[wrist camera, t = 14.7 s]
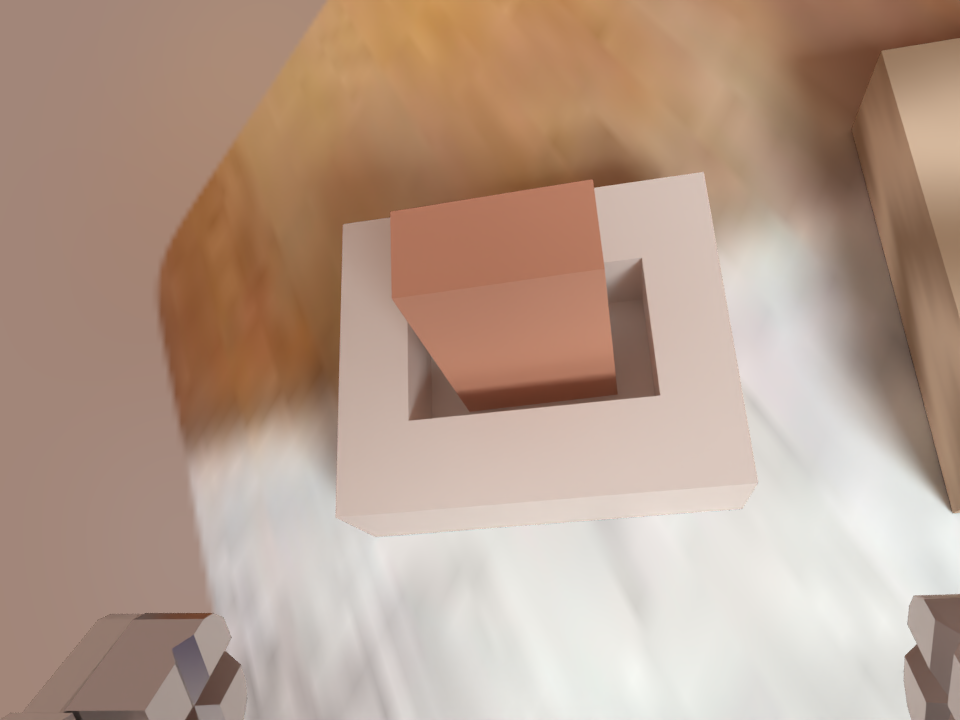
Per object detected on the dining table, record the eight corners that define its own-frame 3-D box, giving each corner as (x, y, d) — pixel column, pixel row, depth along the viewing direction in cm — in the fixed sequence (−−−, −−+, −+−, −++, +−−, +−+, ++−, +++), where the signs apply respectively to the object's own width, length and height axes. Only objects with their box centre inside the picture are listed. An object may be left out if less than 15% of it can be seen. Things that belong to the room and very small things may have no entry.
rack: (742, 509, 25) (758, 483, 21) (376, 536, 27) (335, 517, 23) (696, 232, 29) (703, 171, 25) (377, 274, 30) (342, 224, 27)
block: (617, 394, 26) (604, 268, 18) (469, 411, 27) (391, 298, 19) (609, 328, 27) (592, 178, 19) (466, 346, 28) (390, 211, 20)
